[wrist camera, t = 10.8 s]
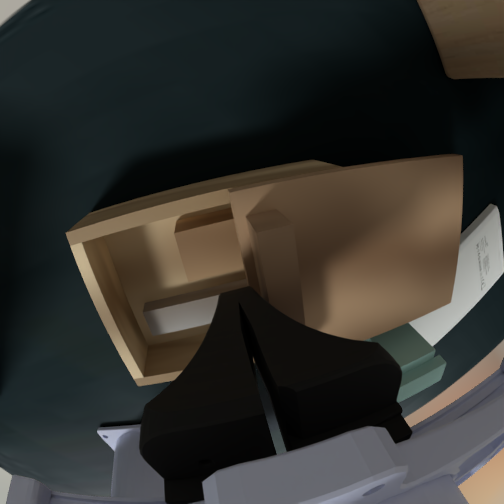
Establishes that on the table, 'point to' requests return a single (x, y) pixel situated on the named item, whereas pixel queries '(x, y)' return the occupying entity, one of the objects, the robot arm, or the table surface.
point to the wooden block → (467, 36)
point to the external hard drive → (468, 275)
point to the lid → (354, 242)
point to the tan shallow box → (166, 267)
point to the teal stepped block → (411, 359)
